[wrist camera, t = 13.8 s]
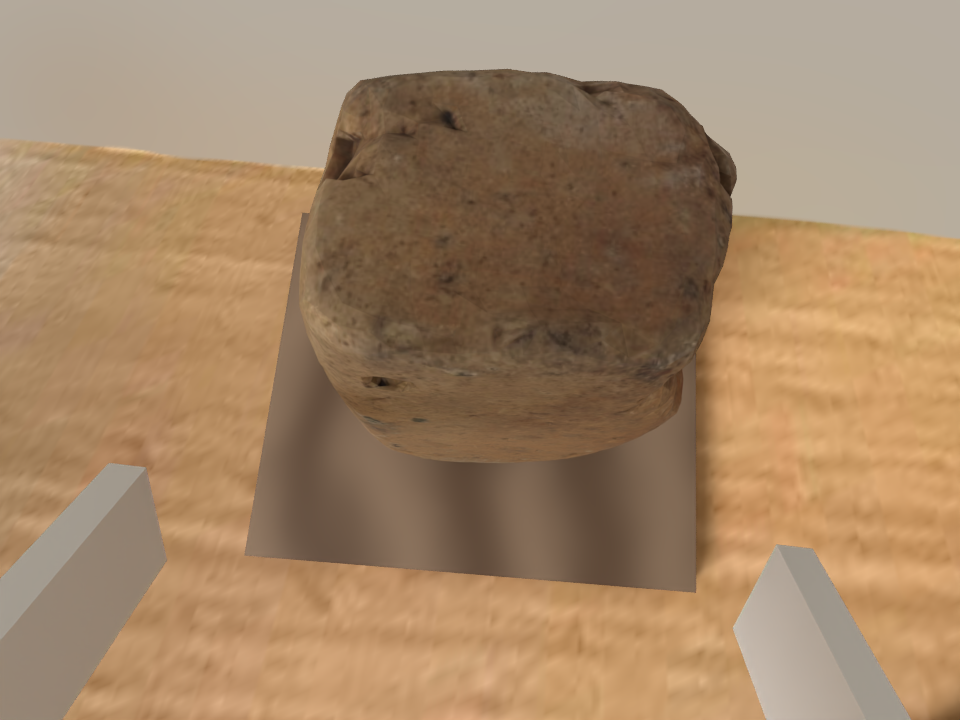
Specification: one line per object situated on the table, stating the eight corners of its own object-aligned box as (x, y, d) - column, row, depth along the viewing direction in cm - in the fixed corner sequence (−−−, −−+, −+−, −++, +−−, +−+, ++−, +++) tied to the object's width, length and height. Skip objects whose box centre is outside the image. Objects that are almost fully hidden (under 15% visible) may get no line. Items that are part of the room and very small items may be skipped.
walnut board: (685, 262, 34) (695, 252, 32) (684, 587, 30) (696, 592, 28) (308, 225, 33) (302, 212, 32) (254, 552, 29) (244, 555, 28)
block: (376, 459, 29) (239, 367, 9) (392, 317, 31) (304, -4, 11) (591, 475, 29) (878, 417, 10) (594, 333, 31) (840, 52, 12)
